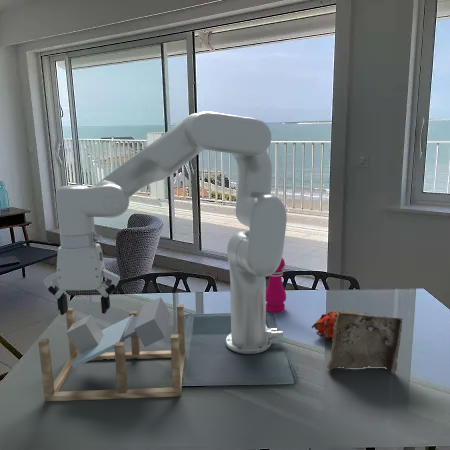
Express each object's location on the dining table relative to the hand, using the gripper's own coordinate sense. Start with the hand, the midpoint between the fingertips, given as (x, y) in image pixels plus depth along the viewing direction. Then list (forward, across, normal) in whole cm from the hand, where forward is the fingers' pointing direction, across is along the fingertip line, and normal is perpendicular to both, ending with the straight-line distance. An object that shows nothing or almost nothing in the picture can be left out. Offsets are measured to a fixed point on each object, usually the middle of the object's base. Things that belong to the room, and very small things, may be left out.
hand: (84, 311), depth 97 cm
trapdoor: (+8, -10, 0) cm, 13 cm away
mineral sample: (+17, -66, +2) cm, 68 cm away
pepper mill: (+17, -50, -37) cm, 65 cm away
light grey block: (+8, -1, 0) cm, 8 cm away
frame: (+17, -8, 0) cm, 18 cm away
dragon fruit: (+17, -64, -15) cm, 67 cm away
